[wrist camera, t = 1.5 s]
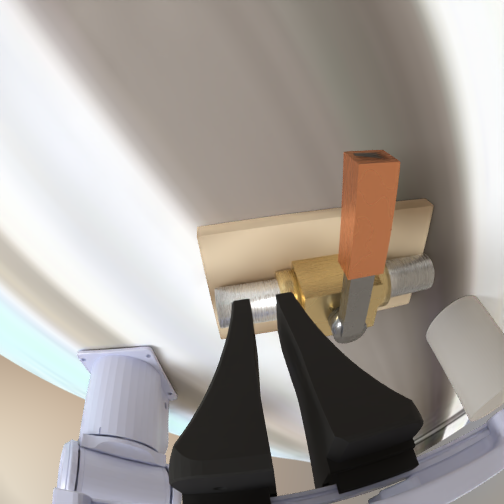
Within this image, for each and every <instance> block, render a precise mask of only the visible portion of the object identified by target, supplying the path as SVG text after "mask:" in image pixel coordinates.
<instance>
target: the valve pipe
mask: <svg viewBox="0 0 504 504" xmlns="http://www.w3.org/2000/svg"><path fill="white" fill-rule="evenodd" d="M343 276H344V271H343V270H342V268H341V266H340V264H339V262H338V254H334V255H328V256H322V257H315V258H309V259H302V260H296V261H291V269H289V270H282V271H276V272H275V279H272V280H266V281H259V282H252V283H246V284H239V285H232V286H225V287H218V288H215V302H216V309H217V315H218V320H219V325H220V328H228V327H229V324H230V318H231V308H232V304H231V303H232V302H233V301H235V300H242V299H250V304H251V309H252V316H253V323H254V324H255V323H261V322H268V321H274V320H277V311H276V294H281V293H287V292H292V293H293V294H294V295H295V297H296V299H297V300H298V302H299V303H300V305H301V306H302V308H303V309H304V310H305V312H306V313H307V314H308V316H309V317H310V318H311V319H312V321H313V322H314V323H315V324H316V325H317V327H318V328H319V329H320V330H321V331H322V332H323V334H324V335H325V336H330V335H333V334H332V331H331V329H330V326H329V324H328V317H329V315H330V313H331V312H332V311H333V310H334V309H336V308H337V307H339V306H340V300H341V292H342V284H343ZM433 282H434V267H433V264H432V261H431V260H430V258H429V257H428V256H427V255H426V254H418V255H412V256H407V257H402V258H396V259H391V260H386V263H385V268H384V273H383V274H378V275H375V279H374V284H373V289H372V294H371V298H370V303H369V308H368V312H367V316H366V321H365V322H366V324H367V327H370V326H373V324H374V320H375V316H376V312H377V308H378V307H382V306H386V305H387V304H388V302H389V300H390V298H391V297H396V296H400V295H404V294H408V293H413V292H417V291H421V290H425V289H429V288H430V287H431V286H432V285H433Z"/></svg>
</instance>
